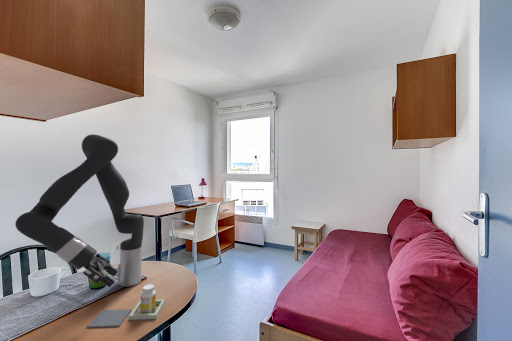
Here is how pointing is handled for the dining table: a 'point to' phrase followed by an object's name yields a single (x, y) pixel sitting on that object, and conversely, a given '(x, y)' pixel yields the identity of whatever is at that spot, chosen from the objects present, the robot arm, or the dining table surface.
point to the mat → (109, 318)
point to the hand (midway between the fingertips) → (114, 278)
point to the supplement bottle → (148, 299)
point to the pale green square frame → (150, 315)
